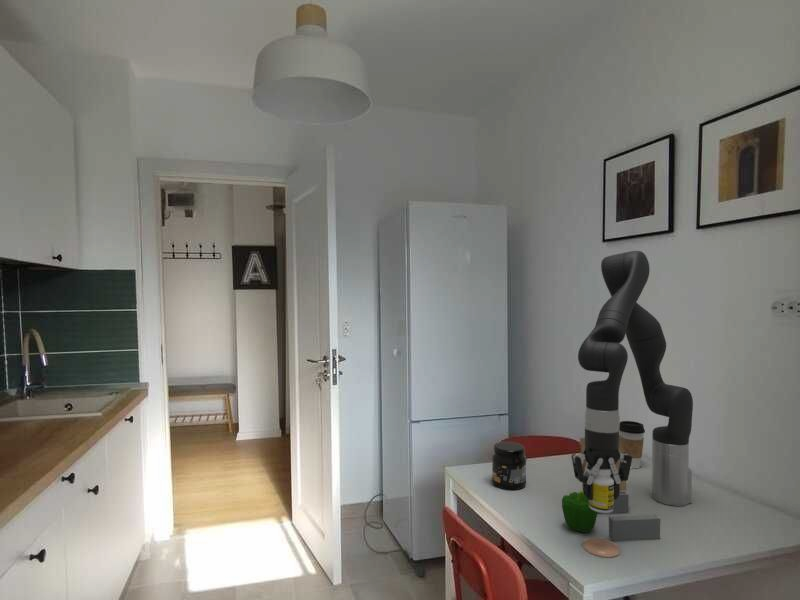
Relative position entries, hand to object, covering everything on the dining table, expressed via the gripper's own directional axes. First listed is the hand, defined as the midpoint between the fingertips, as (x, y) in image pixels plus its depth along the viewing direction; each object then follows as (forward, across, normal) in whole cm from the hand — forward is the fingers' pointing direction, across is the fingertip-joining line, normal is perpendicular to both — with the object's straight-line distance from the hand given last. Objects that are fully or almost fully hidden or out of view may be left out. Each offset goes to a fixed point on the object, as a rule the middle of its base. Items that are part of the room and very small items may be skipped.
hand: (601, 498), depth 114 cm
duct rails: (+12, -10, -11) cm, 19 cm away
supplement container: (+12, +10, -39) cm, 42 cm away
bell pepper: (+12, +1, -10) cm, 16 cm away
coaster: (+12, 0, 0) cm, 12 cm away
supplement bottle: (+3, 0, 0) cm, 3 cm away
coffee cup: (+12, -37, -51) cm, 64 cm away
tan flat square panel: (-1, -10, -19) cm, 22 cm away
